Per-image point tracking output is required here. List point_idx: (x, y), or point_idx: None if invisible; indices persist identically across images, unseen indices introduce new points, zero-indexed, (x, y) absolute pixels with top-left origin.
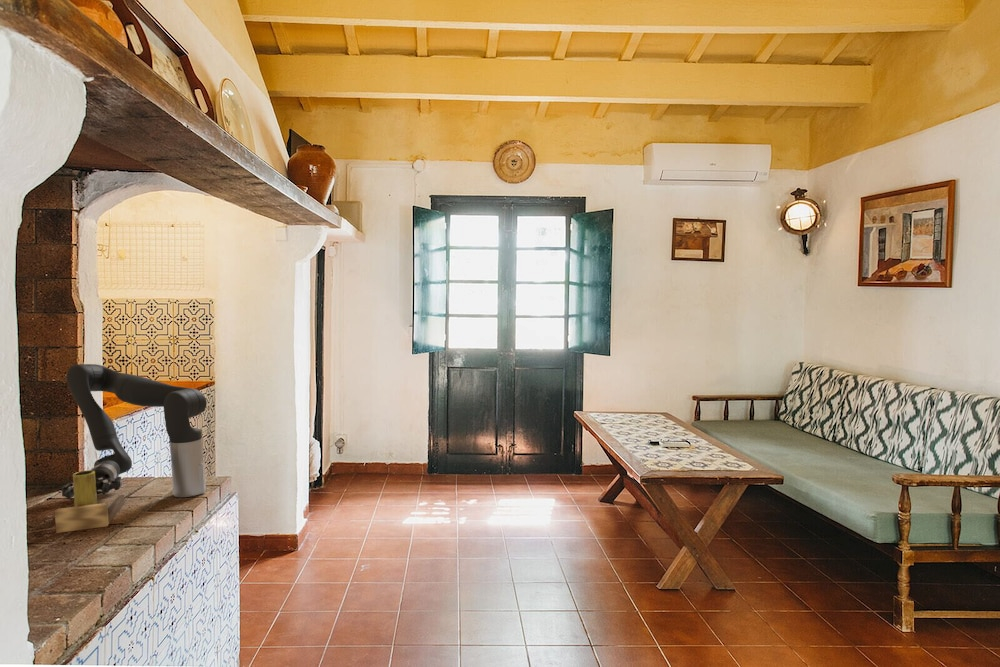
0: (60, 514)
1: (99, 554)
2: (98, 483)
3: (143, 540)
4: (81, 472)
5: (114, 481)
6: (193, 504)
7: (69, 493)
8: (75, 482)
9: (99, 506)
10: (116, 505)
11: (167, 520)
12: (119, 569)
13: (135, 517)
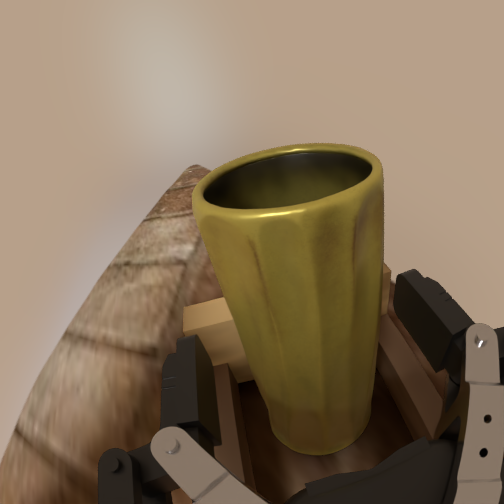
0: None
1: (184, 235)
2: (299, 491)
3: (119, 276)
4: (360, 197)
5: (127, 464)
6: (4, 477)
7: (397, 281)
8: (320, 194)
9: (208, 304)
10: None
11: (64, 371)
12: (152, 214)
13: (137, 433)
